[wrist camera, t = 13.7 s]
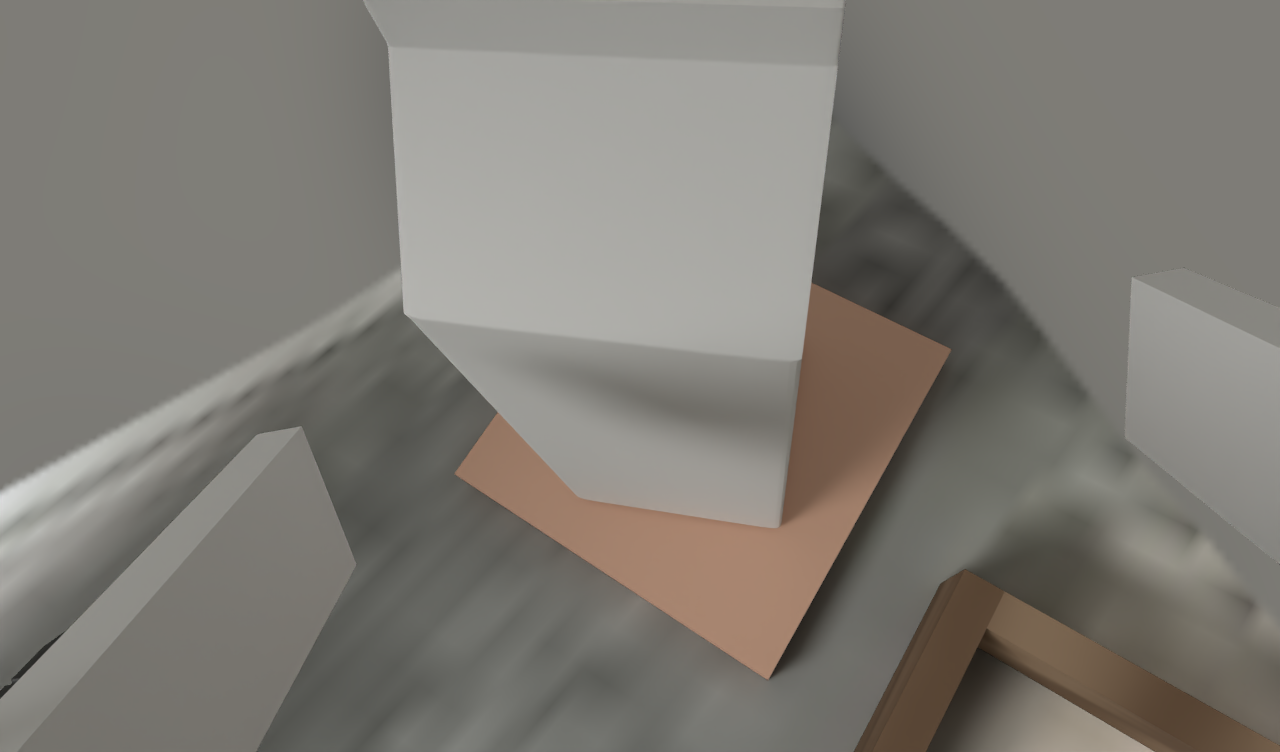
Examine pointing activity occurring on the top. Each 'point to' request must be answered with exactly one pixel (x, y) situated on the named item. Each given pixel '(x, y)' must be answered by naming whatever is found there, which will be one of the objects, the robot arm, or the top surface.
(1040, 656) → the tray
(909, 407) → the terracotta board
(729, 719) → the top surface
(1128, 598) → the top surface
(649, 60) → the milk carton
